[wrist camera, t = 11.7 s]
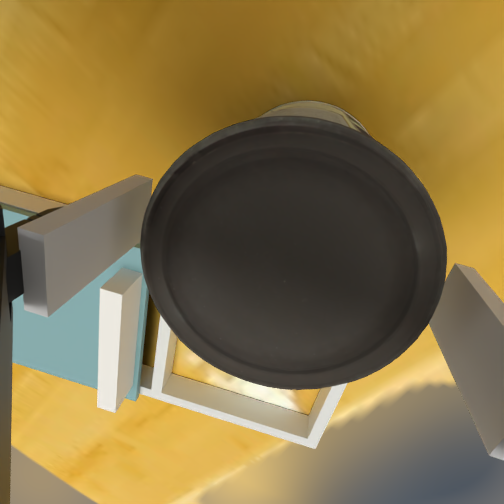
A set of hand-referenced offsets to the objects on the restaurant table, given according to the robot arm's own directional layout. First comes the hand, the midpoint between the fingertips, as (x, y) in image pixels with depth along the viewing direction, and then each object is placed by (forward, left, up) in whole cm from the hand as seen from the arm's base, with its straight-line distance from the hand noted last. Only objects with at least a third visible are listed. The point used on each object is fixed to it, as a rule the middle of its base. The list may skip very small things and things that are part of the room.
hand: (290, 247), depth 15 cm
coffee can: (0, 0, -11) cm, 11 cm away
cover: (+15, -17, -8) cm, 24 cm away
